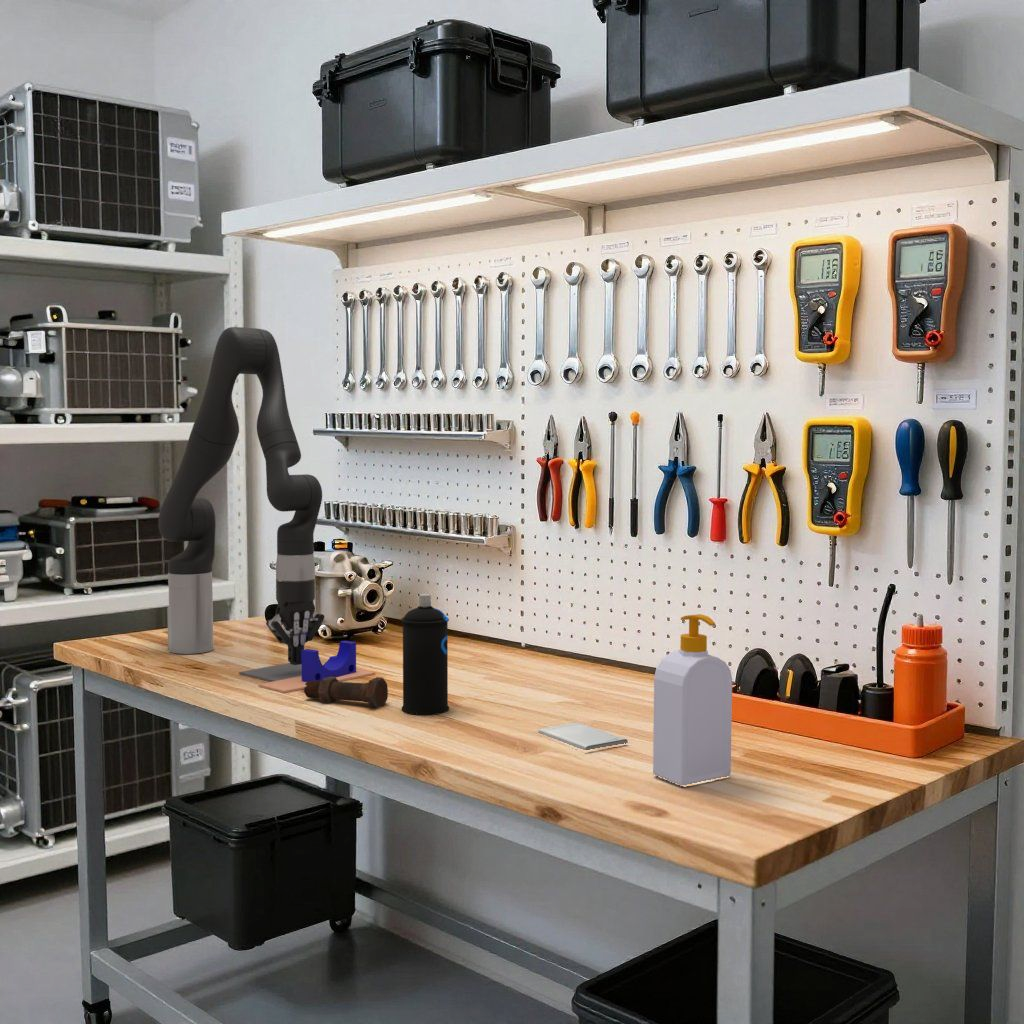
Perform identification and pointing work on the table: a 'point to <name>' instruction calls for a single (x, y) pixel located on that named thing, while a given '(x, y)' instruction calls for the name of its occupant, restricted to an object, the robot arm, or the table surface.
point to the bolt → (348, 691)
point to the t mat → (291, 677)
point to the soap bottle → (692, 711)
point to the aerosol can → (425, 659)
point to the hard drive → (582, 736)
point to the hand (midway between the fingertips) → (295, 664)
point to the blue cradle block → (329, 663)
